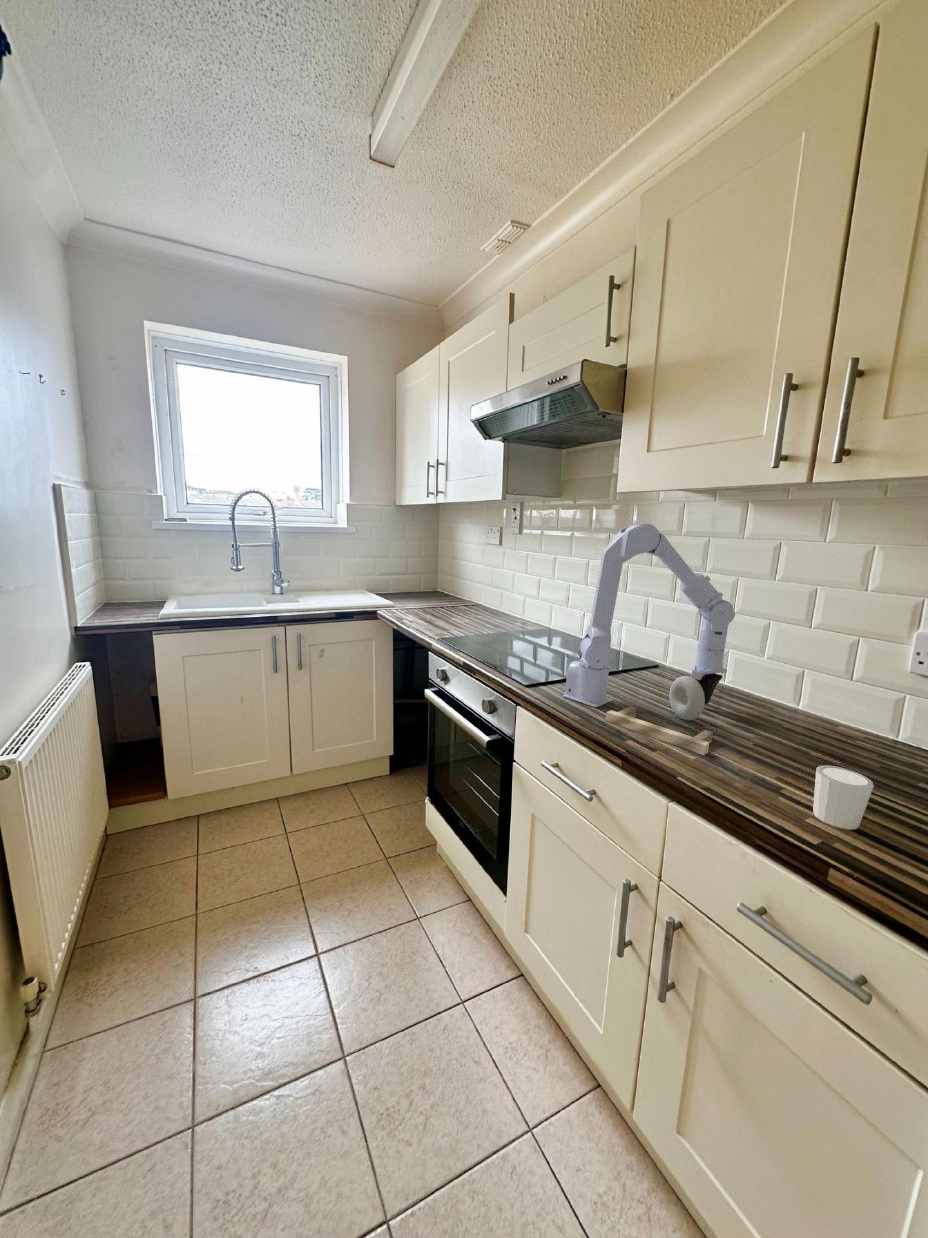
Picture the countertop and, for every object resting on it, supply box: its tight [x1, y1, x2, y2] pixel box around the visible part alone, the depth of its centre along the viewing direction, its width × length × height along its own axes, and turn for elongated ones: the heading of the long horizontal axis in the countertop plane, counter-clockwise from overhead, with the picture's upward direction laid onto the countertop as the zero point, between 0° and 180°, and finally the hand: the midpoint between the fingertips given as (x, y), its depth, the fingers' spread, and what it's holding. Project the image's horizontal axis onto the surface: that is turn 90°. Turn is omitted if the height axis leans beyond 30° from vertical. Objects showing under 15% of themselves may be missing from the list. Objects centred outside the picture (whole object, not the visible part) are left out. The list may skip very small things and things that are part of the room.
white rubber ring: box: [668, 675, 706, 721], centre depth 111 cm, size 10×3×10 cm, turn 12°
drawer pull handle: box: [605, 706, 714, 756], centre depth 103 cm, size 21×8×2 cm, turn 44°
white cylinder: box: [812, 765, 875, 831], centre depth 74 cm, size 7×7×7 cm
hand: (703, 702), depth 119 cm, fingers closed
